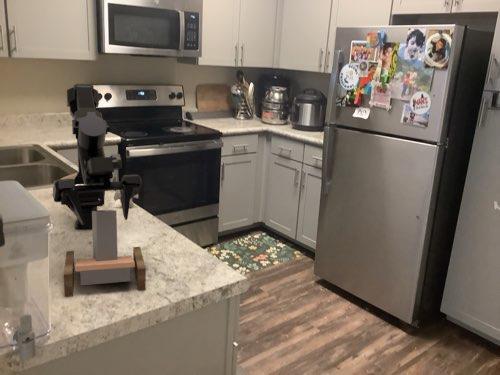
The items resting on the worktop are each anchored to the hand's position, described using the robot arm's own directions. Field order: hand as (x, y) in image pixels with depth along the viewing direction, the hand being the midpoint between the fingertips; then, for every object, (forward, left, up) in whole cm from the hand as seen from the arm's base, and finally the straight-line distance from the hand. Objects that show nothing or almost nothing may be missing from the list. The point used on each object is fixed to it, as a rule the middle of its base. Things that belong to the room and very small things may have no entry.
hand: (105, 221), depth 101 cm
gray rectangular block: (-1, 0, -9) cm, 9 cm away
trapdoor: (+2, 0, -13) cm, 13 cm away
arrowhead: (-50, +8, -14) cm, 52 cm away
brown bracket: (+2, 0, -14) cm, 14 cm away
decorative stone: (-67, -9, -14) cm, 69 cm away
